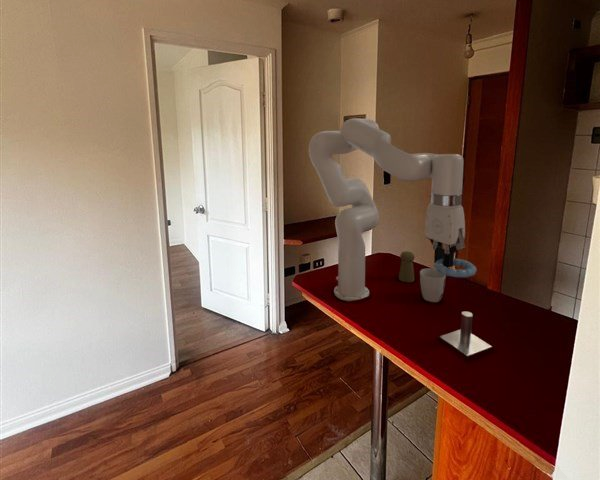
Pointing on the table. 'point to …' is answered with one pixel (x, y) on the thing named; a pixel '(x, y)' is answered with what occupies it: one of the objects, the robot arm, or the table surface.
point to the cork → (406, 267)
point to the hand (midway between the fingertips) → (443, 264)
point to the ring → (464, 273)
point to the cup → (432, 284)
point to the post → (466, 337)
